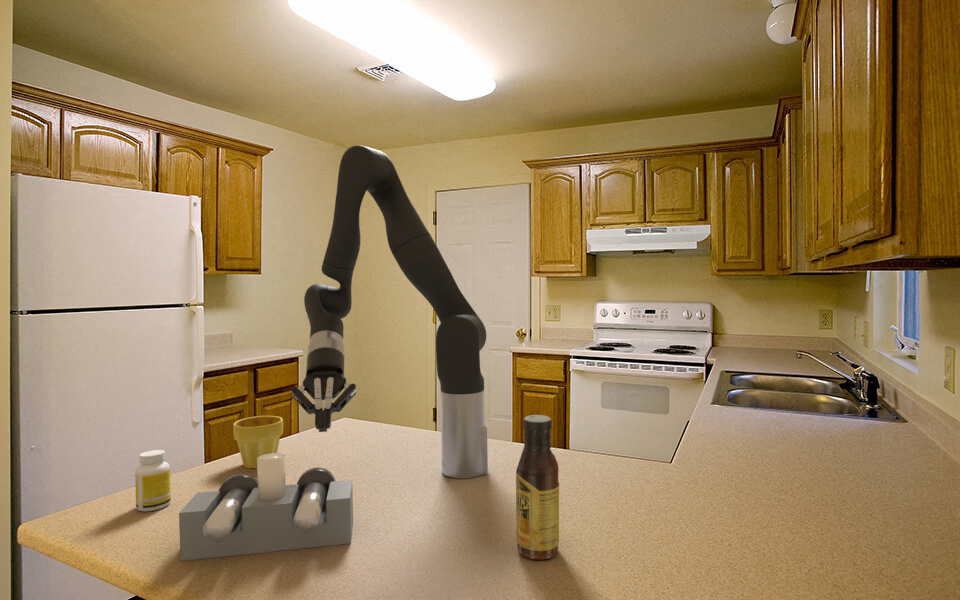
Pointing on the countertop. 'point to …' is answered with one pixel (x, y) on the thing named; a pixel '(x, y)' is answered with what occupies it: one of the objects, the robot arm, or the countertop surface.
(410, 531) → the countertop surface
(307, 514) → the knob
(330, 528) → the slotted grey stand
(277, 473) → the white cylinder
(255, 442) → the plant pot
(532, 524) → the sauce bottle
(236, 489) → the knob
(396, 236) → the robot arm
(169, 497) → the supplement bottle
